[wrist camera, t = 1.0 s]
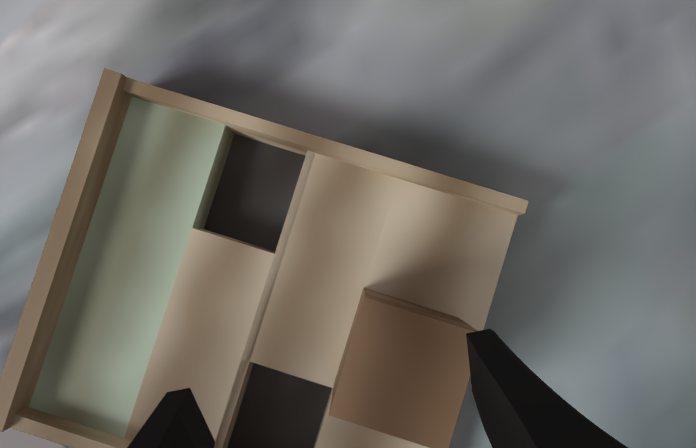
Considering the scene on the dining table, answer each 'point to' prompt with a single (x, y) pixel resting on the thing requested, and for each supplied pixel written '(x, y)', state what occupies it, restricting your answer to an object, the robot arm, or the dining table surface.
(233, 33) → the dining table surface
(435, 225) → the divided beige tray
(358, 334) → the walnut block
